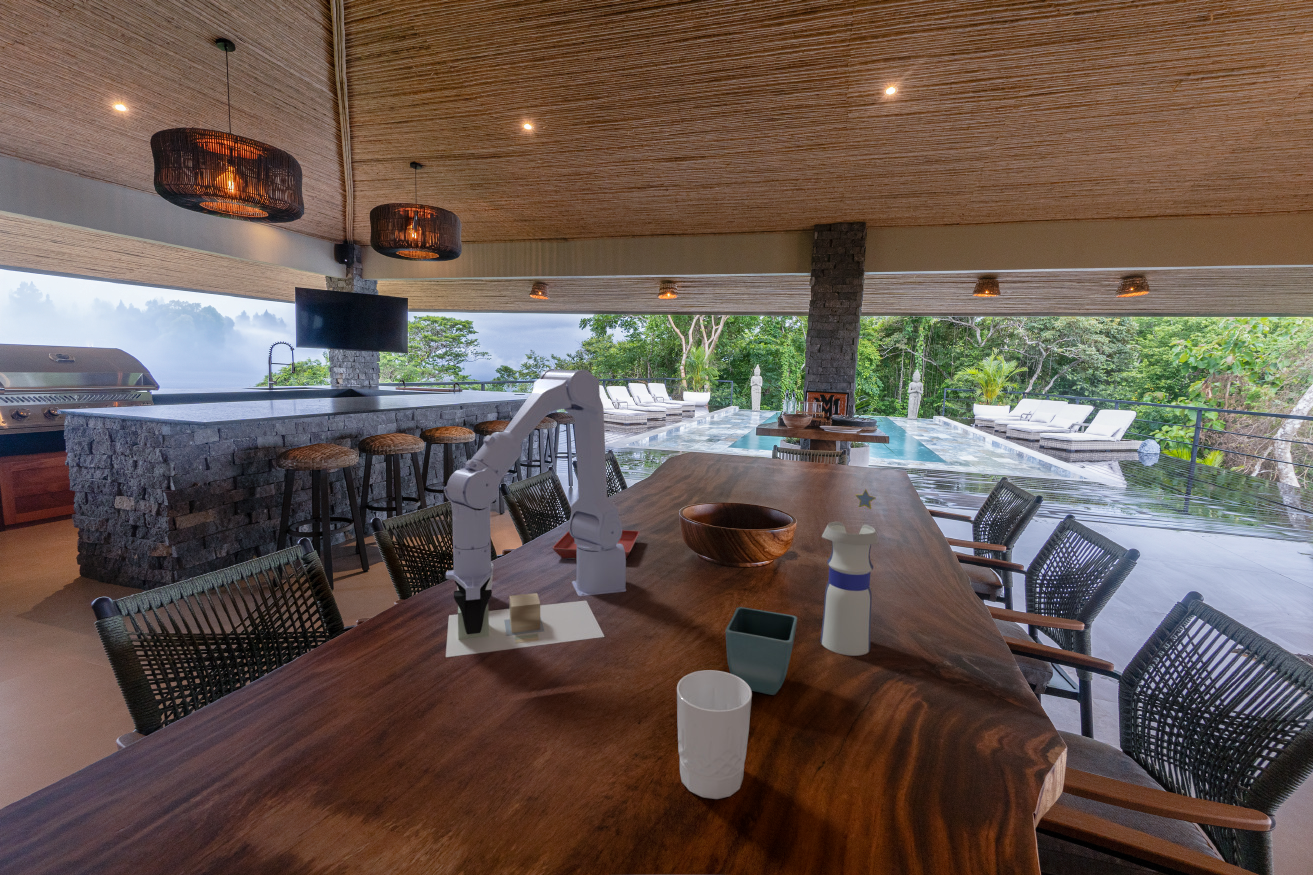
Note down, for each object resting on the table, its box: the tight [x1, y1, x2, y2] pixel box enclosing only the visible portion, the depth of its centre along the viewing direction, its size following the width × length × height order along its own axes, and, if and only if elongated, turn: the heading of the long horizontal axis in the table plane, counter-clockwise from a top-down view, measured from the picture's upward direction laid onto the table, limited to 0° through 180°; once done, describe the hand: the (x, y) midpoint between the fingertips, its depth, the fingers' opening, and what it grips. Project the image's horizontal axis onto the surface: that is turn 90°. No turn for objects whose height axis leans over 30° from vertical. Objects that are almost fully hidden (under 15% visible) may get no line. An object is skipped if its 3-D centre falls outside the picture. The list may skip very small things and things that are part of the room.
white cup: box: [676, 669, 753, 800], centre depth 61 cm, size 8×8×10 cm
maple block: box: [509, 592, 541, 633], centre depth 95 cm, size 5×5×4 cm
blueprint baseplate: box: [445, 600, 605, 658], centre depth 95 cm, size 24×15×1 cm, turn 108°
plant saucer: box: [552, 529, 641, 560], centre depth 137 cm, size 18×18×3 cm
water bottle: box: [820, 489, 880, 657], centre depth 91 cm, size 8×9×25 cm
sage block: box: [457, 602, 490, 640], centre depth 92 cm, size 5×5×4 cm
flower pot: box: [725, 606, 798, 696], centre depth 79 cm, size 9×9×9 cm
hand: (473, 625), depth 92 cm, fingers open, 5 cm apart
